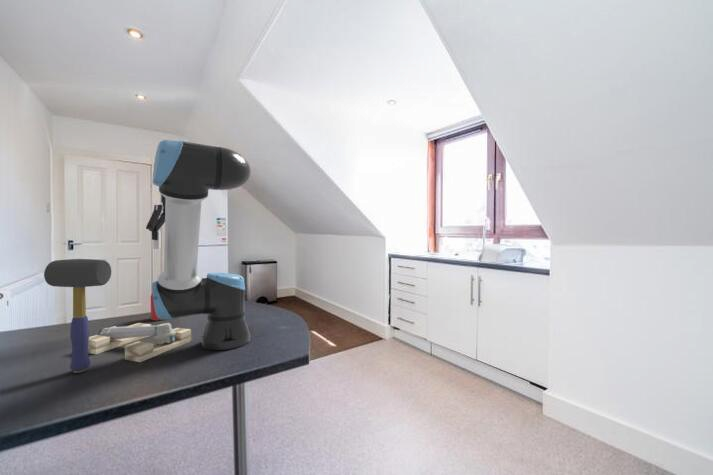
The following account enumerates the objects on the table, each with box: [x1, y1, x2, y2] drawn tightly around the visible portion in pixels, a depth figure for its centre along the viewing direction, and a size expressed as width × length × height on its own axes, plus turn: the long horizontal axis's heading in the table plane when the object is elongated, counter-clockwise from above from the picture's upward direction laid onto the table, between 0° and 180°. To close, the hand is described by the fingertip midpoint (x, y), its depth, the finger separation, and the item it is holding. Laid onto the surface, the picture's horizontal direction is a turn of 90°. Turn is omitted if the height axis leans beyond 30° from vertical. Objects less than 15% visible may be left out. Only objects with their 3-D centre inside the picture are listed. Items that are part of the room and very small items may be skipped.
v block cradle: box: [88, 322, 192, 363], centre depth 101 cm, size 24×18×4 cm
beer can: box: [150, 292, 166, 322], centre depth 132 cm, size 7×7×12 cm
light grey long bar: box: [97, 322, 176, 345], centre depth 101 cm, size 5×7×25 cm
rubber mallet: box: [43, 258, 112, 374], centre depth 83 cm, size 12×8×30 cm, turn 98°
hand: (172, 248), depth 122 cm, fingers open, 13 cm apart
